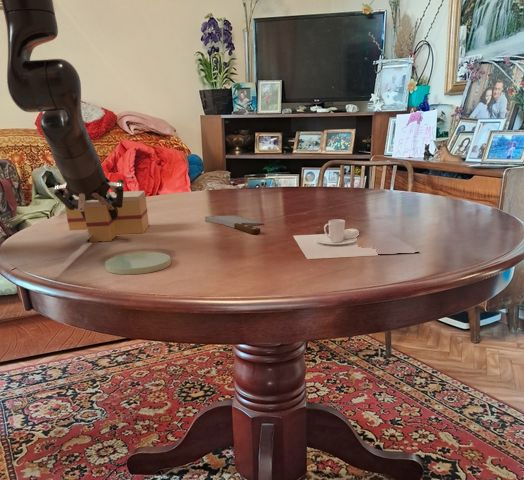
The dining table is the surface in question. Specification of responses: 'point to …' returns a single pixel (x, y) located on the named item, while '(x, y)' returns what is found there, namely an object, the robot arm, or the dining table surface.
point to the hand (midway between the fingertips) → (101, 216)
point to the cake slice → (99, 222)
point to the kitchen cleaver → (236, 223)
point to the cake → (119, 214)
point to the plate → (138, 263)
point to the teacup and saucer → (333, 243)
